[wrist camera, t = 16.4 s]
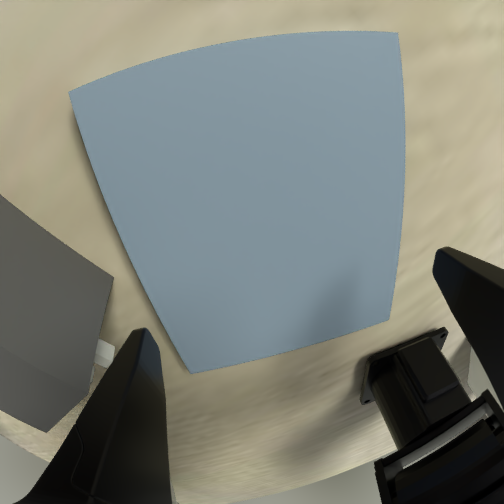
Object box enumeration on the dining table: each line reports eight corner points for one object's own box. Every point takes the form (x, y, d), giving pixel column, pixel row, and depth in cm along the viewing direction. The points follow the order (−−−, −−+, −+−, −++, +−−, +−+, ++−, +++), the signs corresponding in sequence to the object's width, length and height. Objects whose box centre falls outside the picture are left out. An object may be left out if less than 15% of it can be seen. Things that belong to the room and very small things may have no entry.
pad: (381, 307, 17) (388, 319, 16) (190, 359, 16) (190, 373, 15) (382, 33, 9) (397, 32, 8) (78, 89, 8) (68, 92, 8)
